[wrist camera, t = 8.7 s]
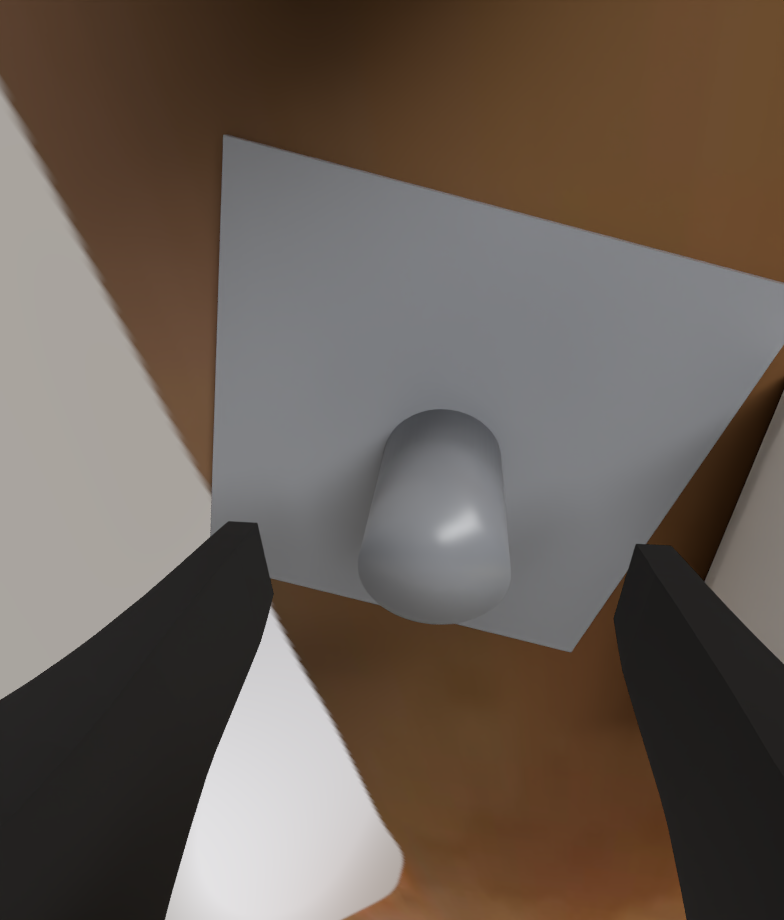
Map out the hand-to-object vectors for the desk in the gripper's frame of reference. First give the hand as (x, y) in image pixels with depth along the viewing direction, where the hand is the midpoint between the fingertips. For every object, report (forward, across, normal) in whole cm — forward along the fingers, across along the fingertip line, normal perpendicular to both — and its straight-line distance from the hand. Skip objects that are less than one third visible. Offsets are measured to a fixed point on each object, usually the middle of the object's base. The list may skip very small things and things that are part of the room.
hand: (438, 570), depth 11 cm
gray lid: (+5, 0, 0) cm, 5 cm away
